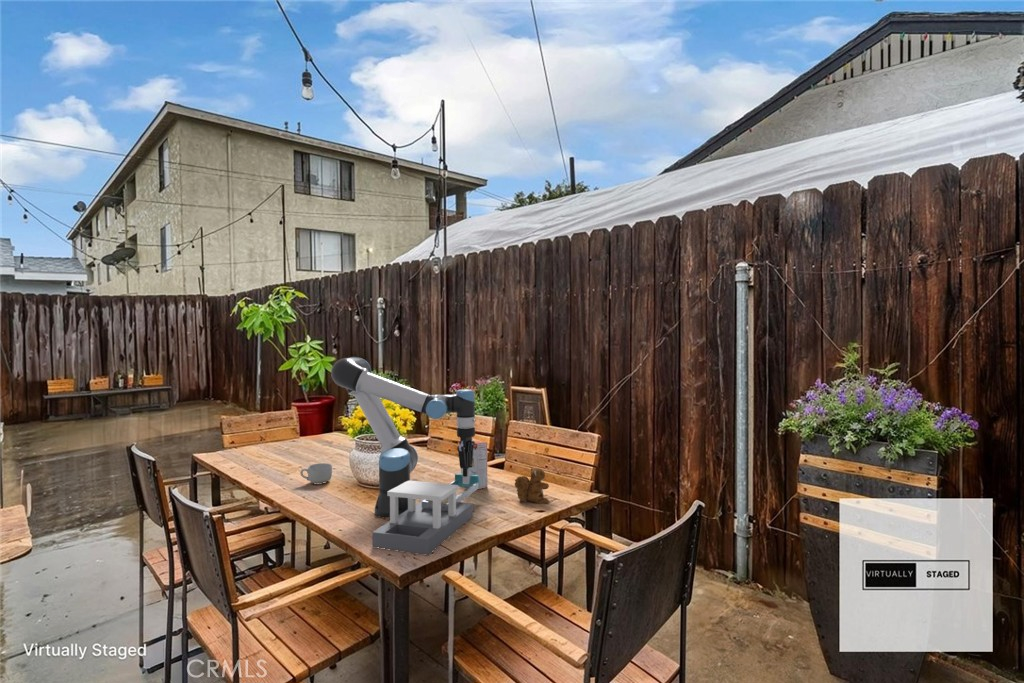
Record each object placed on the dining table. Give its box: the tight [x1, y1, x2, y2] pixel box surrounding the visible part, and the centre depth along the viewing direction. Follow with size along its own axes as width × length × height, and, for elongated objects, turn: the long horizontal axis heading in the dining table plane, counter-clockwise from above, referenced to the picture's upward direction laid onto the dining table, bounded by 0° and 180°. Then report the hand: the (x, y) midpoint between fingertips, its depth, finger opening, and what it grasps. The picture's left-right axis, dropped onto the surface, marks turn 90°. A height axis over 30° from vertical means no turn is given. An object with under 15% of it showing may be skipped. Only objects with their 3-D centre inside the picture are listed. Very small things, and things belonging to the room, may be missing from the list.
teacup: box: [299, 462, 333, 484], centre depth 236 cm, size 14×11×8 cm
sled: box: [421, 473, 479, 511], centre depth 197 cm, size 11×30×5 cm, turn 162°
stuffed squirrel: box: [514, 467, 550, 504], centre depth 210 cm, size 10×14×13 cm
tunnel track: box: [371, 480, 474, 556], centre depth 177 cm, size 20×36×16 cm, turn 162°
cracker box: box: [460, 437, 488, 490], centre depth 231 cm, size 14×6×21 cm, turn 37°
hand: (466, 483), depth 210 cm, fingers closed
